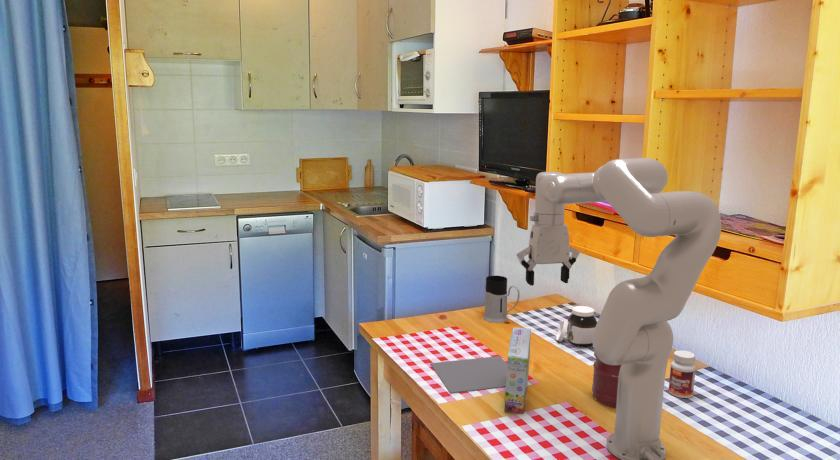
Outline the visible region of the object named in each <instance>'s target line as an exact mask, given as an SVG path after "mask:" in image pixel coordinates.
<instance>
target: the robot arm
mask: <svg viewBox="0 0 840 460" xmlns="http://www.w3.org/2000/svg"><path fill="white" fill-rule="evenodd" d="M668 181H669V173H668V170H667V168H666V167H665V165H664V164H663V163H661V161H659V160H657V159H654V158H649V157H638V158H637V157H636V158H634V157H633V158H617V159H612V160H609V161H607V162H606V163H605V164H604V165H601V166H600V167H599V168H598V169H596V170H595V171H594V172H578V173H577V172H576V173H575V172H574V173H573V172H572V173H563V172H561V171H560V172H559V171H542V172H539V173H537V174H536V177H535V201H534V203H535V204H534V208H535V209H534V213H533V215H531V216H530V217H529V221H530V222H533V224H532V226H531V229H530V233H529V234H530V235H529V239H528V247H526V248H524V249H523V250H521V251H519V252H518V253H516V257H517V259H518V261H519V264H520V265H521V266H522V267H523V268H524V269H525V281H526V283H527V284H528V285H530V286H534V285H535V270H533V269H534V268H536V267H535V266H537V265H551V264H553V265H554V264H562V266H560V281H561V282H562V283H564V284H569V280H570V271H571V270H570V269H571V268H572V266H573V265H574V264H575V263H576V261H577V259H578V257H579V255H580V250H578V249H576V248H573V247H572V246H571V245H570V234H569V228H568V225H567V224H566V223H565V213H566V212H565V209H566V207H565V206H566V205H574V204H591V203H599V202H606V203H608V204H609V206H610V207H611V208H612V209H613V210H614V211H615V213H617V214H618V216H619V217H620V218H622V220H623V221H624V223H626V224H627V226H628V227H629V228H630V229H631V230H632V231H633V232H635V233H636V234H638V235H639V236H642V237H646V238H657V237H659V238H660V237H666V236H675V237H673V239H672V240H671V241H670V242H669V243H668V244H667V245H666V246H665V247H664V248H663V249H662V251H661V252H660V253H659V255H658V256H657V259H656V262H655V264H654V265H653V268H652V269H651V271H650V272H649V273H648V274H647V275H645V276H643V277H638V278H632V279H626V280H624V281H621V282H619V283H617V284H616V285H615V286H614V287H613V288H612V289H611V291H610V292H609V294H608V296H607V298H606V302H605V303H604V305H603V308H602V310H601V312H600V315H599V317H598V320H597V324H596V327H595V330H594V333H593V345H592V348H593V351H594V352H595V354H596V356H597V357H598V359H599V360H601V361H602V362H603V363H605V364H608V365H621V368H620V371H619V378H618V390H617V404H616V407H615V418H614V419H615V420H614V421H615V422H614V432H613V433H612V434H610V435H609V436H608V437H607V438H606V449H607V450H608V451H609V452H610V454H612V455H613V456H614V457H616V458H617V459H619V460H665V459H666V458H667V450H666V447H665V445H664V444H663V443H662V440H661V439H660V438H661V437H660V435H661V426H662V425H661V424H662V413H663V412H662V411H663V401H664V391H665V390H664V389H665V380H666V379H665V378H666V372H667V367H668V366H667V365H668V363H669V359H670V355H671V352H672V350H673V345H674V333H673V329H672V327H671V325H670V323H669V322H668V321H671V320H674V319H676V318H677V317H678V316H680V314H681V313H682V311H683V310H684V308H685V306H686V304H687V302H688V300H689V298H690V296H691V295H692V293H693V290H694V289H695V286H696V284H697V282H698V280H699V278H700V277H701V276H700V275H701V274H702V272H703V270H704V268H705V266H706V265H707V263H708V262H709V260H710V259H711V258H712V255H713V254H714V253H715V250H716V248H717V246H718V243H719V241H720V238H721V233H722V221H721V219H722V218H721V214H720V211H719V209H718V206H717V205H716V203H715V201H714V200H713V199H712V198H711V197H709V196H708V195H706V194H704V193H702V192H697V191H692V190H685V191H684V190H681V191H680V190H679V191H678V190H676V191H666V192H662V191H663V190H664V189H665V188H666V186H667V185H668ZM570 253H571V254H570ZM527 255H528V260H527V261H526V259H525V257H526V256H527ZM594 352H593V353H594Z"/></svg>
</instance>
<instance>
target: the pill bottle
mask: <svg viewBox="0 0 840 460" xmlns="http://www.w3.org/2000/svg"><path fill="white" fill-rule="evenodd" d="M695 359H696V355H695V353H693V352H691V351H689V350H676V351H674V352H673V360H672V361H671V363H670V373H669V382H668V392H669V394H670V395H672V396H673V397H677V398H681V399H690V398H692V396H694V388H695V387H694V386H695V380H696V379H695V378H696V370H697V369H696V368H697V367H696V364H695V361H696V360H695Z"/></svg>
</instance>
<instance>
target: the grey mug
mask: <svg viewBox="0 0 840 460" xmlns="http://www.w3.org/2000/svg"><path fill="white" fill-rule="evenodd" d="M512 288H515V289H516V291H517V299H516V302H515V303H514V305H513V307H511V308H509V310H507V309H508V308H507V307H508V297H509V296H510V294H511V293H510V292H511V289H512ZM519 289H520V288H518V287H517V285H516V286H515V285H511V286H509V288H508V278H507V277H506V276H503V275H502V276H501V275H489V276H488V275H487V276H486V277H485V287H484V292H485V293H484V315H483V319H482V320H484V321H486V322H488V323H494V324H495V323H497V324H499V323H505V322H507V321H508V316H507V314H508V313H509V312H510V311H512V310H513V309H514V308H516V307H517V304H518V303H519V302H520V290H519Z"/></svg>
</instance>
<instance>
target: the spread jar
mask: <svg viewBox="0 0 840 460" xmlns="http://www.w3.org/2000/svg"><path fill="white" fill-rule="evenodd" d="M571 312H572V313H571V314H570V315H569V316H568V317H567V321H565V320H563V321H562V322H561V323H560V325H559V327H558V331H557V333H556V336H555V337H556V338H555V340H556V341H558V342H560V343H561V342H563V340H564V338H565V337H566V336H567V340H568V342H569V344H570V345H572V346H573V347H578V348H590V347H593V333H594V330H595V327H596V324H597V322H598V320H597V319H596V317H595V309H594V308H592V307H590V306H586V305H585V306H584V305H576V306H573V307H572V310H571Z"/></svg>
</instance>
